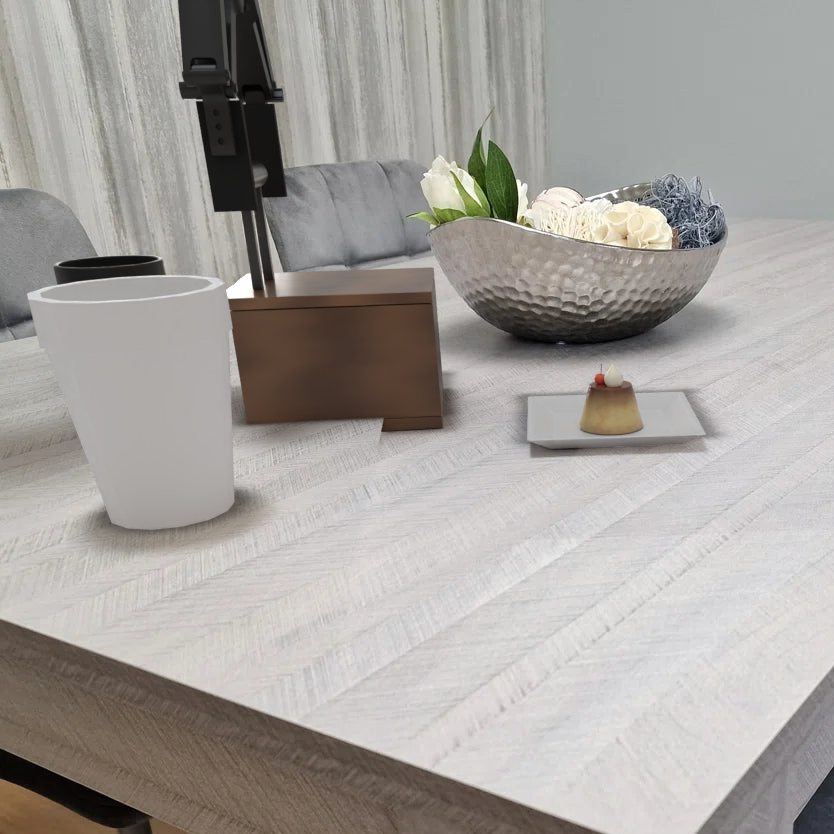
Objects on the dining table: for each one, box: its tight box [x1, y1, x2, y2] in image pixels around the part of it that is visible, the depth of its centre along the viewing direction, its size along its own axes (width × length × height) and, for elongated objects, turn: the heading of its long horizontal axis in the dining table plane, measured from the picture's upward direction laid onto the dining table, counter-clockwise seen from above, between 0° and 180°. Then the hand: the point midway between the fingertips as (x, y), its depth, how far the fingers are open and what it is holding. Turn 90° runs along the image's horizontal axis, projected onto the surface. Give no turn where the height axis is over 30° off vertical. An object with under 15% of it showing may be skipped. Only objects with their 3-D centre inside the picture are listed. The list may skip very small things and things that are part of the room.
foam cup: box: [26, 274, 236, 531], centre depth 56 cm, size 10×9×13 cm
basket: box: [230, 278, 444, 432], centre depth 79 cm, size 14×13×9 cm
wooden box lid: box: [226, 160, 435, 311], centre depth 75 cm, size 15×13×9 cm
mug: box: [52, 254, 167, 285], centre depth 97 cm, size 9×12×9 cm
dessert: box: [526, 363, 707, 450], centre depth 74 cm, size 12×12×5 cm
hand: (254, 204), depth 74 cm, fingers open, 13 cm apart
